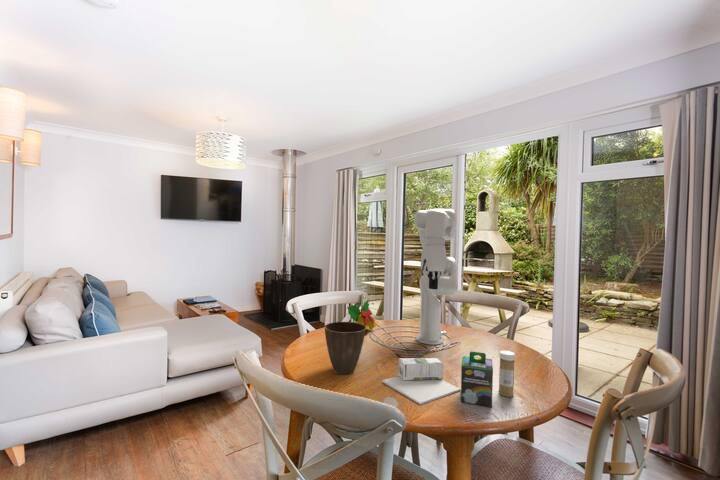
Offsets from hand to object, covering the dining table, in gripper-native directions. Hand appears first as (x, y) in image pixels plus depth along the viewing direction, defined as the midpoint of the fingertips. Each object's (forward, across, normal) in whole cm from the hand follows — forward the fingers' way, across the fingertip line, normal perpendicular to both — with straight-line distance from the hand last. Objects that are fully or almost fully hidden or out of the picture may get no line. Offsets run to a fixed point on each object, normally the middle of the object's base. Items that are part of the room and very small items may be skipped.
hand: (433, 288), depth 137 cm
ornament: (+29, -1, -47) cm, 55 cm away
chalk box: (+29, +10, +29) cm, 42 cm away
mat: (+29, +19, +14) cm, 37 cm away
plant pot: (+29, +34, -10) cm, 46 cm away
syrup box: (+26, +8, +13) cm, 30 cm away
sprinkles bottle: (+29, -1, +32) cm, 43 cm away
